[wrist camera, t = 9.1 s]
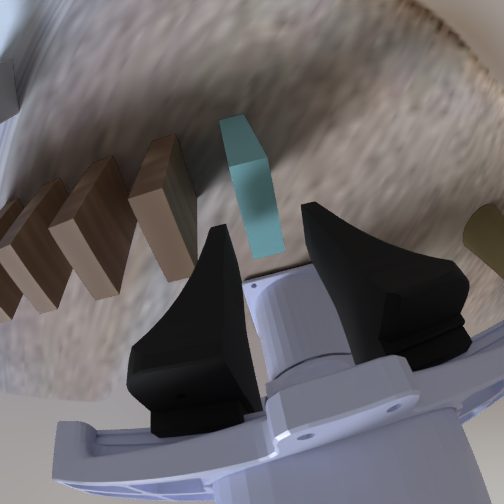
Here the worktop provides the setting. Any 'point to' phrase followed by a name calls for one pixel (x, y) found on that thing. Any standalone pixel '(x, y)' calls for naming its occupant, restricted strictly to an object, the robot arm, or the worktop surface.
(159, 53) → the worktop surface
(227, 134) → the teal domino
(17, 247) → the walnut domino
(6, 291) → the walnut domino
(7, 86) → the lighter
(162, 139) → the walnut domino
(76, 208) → the walnut domino
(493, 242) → the olive upright piece
